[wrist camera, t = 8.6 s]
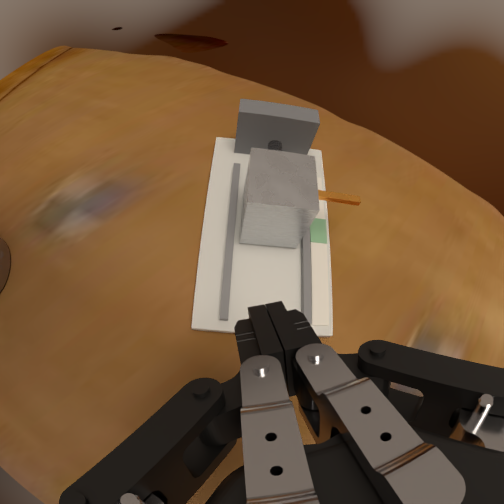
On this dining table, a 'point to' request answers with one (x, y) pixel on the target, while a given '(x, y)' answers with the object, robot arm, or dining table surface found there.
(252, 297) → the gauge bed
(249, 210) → the gauge carriage
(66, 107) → the dining table surface
